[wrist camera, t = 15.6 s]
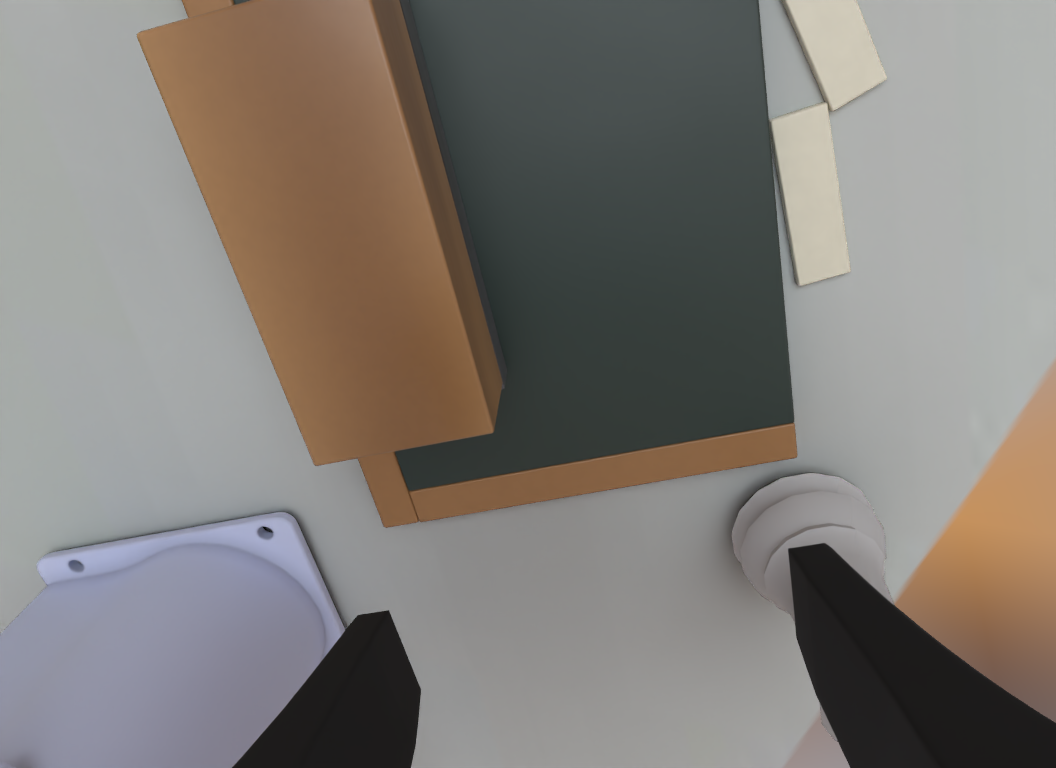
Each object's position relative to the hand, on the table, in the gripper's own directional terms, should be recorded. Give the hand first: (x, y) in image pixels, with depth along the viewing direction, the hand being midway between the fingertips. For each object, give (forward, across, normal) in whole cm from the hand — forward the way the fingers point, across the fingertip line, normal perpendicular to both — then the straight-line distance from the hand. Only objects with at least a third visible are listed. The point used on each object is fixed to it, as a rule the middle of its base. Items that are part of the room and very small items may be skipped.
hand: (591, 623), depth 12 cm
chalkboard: (+9, 0, -6) cm, 11 cm away
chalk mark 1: (+10, -8, -9) cm, 15 cm away
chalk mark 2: (+10, -7, -4) cm, 13 cm away
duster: (+9, +4, -6) cm, 11 cm away
